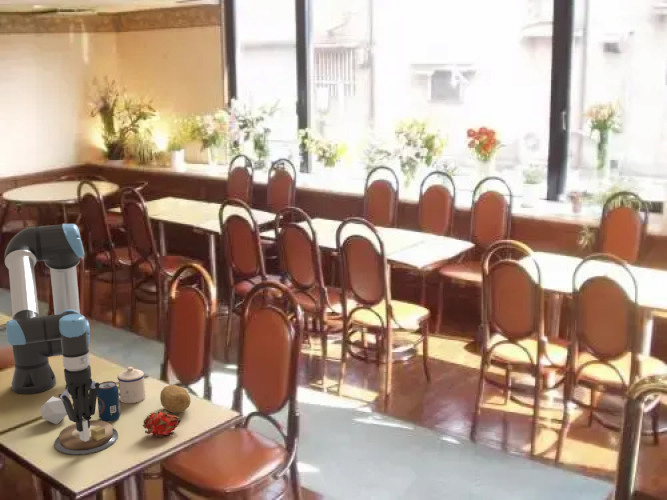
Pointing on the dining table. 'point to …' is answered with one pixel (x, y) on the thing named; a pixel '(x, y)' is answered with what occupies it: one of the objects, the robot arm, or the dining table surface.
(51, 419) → the die
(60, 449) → the turntable base
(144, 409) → the dining table surface
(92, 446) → the turntable
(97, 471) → the dining table surface
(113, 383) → the soda can
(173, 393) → the potato
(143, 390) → the teacup with lid
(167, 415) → the dragon fruit
